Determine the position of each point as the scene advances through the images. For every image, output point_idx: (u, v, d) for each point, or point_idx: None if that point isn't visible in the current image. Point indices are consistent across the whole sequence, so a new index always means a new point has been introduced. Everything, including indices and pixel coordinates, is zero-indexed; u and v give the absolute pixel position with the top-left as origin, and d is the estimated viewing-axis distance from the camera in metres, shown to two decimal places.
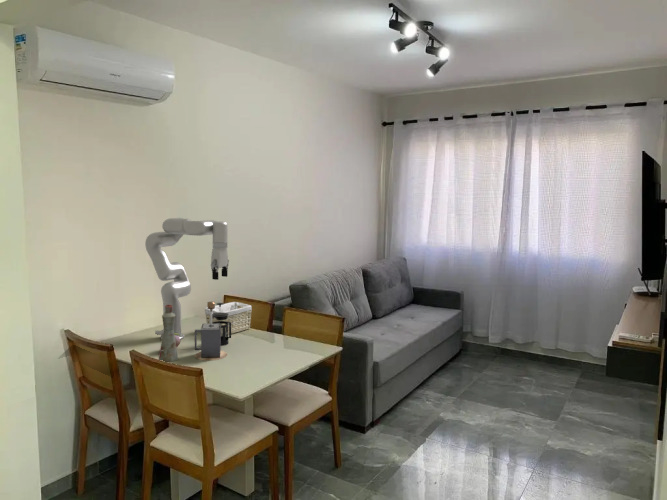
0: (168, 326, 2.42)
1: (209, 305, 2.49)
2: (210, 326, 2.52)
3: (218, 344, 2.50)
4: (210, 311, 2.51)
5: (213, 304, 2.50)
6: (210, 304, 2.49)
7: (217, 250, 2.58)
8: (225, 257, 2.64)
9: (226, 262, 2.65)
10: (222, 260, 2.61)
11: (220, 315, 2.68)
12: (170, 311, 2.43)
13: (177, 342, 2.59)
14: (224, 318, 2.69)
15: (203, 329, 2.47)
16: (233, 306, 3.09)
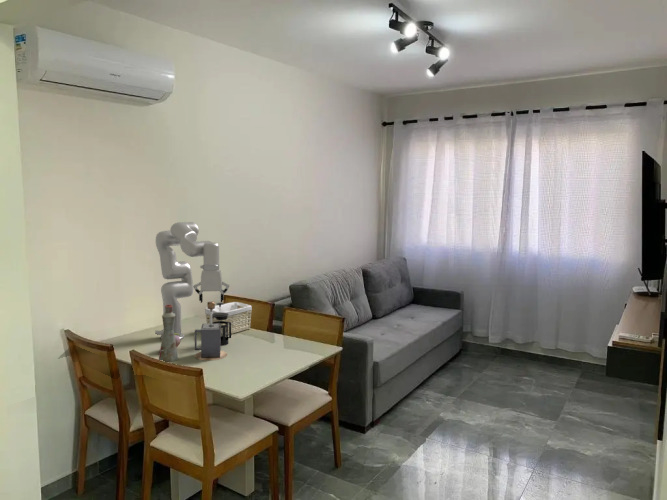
0: (168, 326, 2.42)
1: (209, 305, 2.49)
2: (210, 326, 2.52)
3: (218, 344, 2.50)
4: (210, 311, 2.51)
5: (213, 304, 2.50)
6: (210, 304, 2.49)
7: None
8: None
9: None
10: None
11: (220, 315, 2.68)
12: (170, 311, 2.43)
13: (177, 342, 2.59)
14: (224, 318, 2.69)
15: (203, 329, 2.47)
16: (233, 306, 3.09)
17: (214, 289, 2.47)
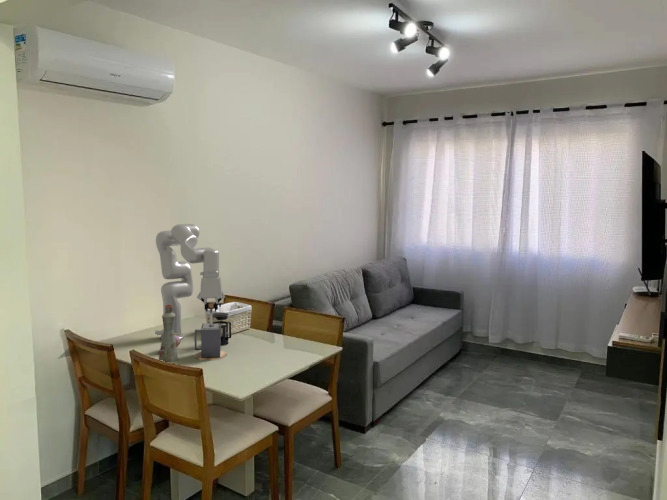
0: (168, 326, 2.42)
1: (209, 305, 2.49)
2: (210, 326, 2.52)
3: (218, 344, 2.50)
4: (210, 311, 2.51)
5: (213, 304, 2.50)
6: (210, 304, 2.49)
7: None
8: None
9: None
10: None
11: (220, 315, 2.68)
12: (170, 311, 2.43)
13: (177, 342, 2.59)
14: (224, 318, 2.69)
15: (203, 329, 2.47)
16: (233, 306, 3.09)
17: (214, 296, 2.48)
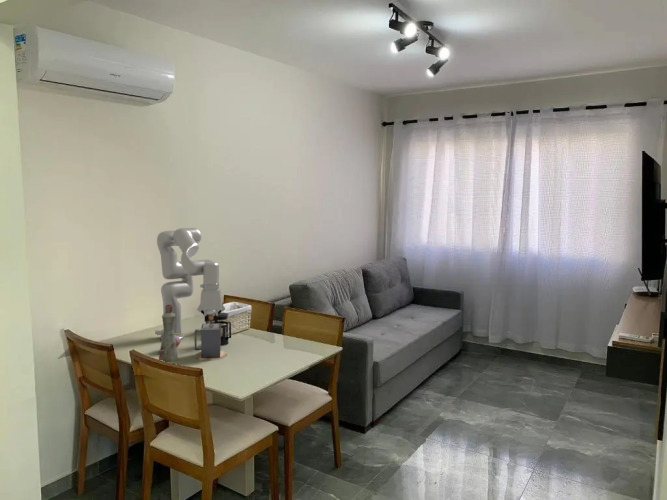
0: (168, 326, 2.42)
1: (209, 317, 2.50)
2: None
3: (218, 344, 2.50)
4: (210, 323, 2.52)
5: (213, 316, 2.51)
6: (210, 316, 2.50)
7: None
8: None
9: None
10: None
11: (220, 315, 2.68)
12: (170, 311, 2.43)
13: (177, 342, 2.59)
14: (224, 318, 2.69)
15: (203, 329, 2.47)
16: (232, 306, 3.09)
17: (214, 308, 2.49)
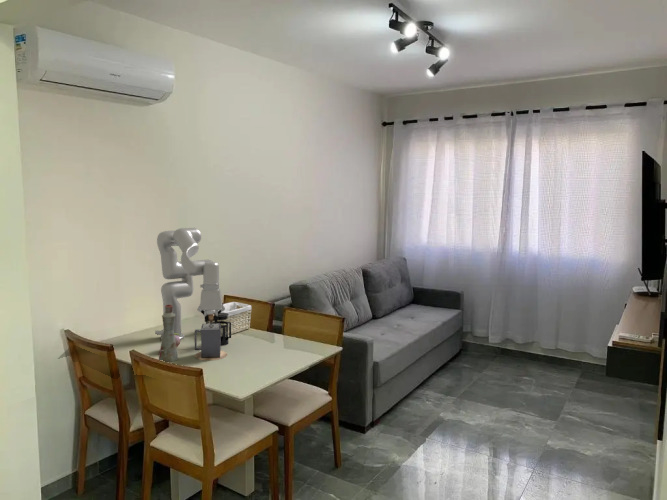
0: (168, 326, 2.42)
1: (209, 317, 2.50)
2: None
3: (218, 344, 2.50)
4: (210, 323, 2.52)
5: (213, 316, 2.51)
6: (210, 316, 2.50)
7: None
8: None
9: None
10: None
11: (220, 315, 2.68)
12: (170, 311, 2.43)
13: (177, 342, 2.59)
14: (224, 318, 2.69)
15: (203, 329, 2.47)
16: (232, 306, 3.09)
17: (214, 308, 2.49)
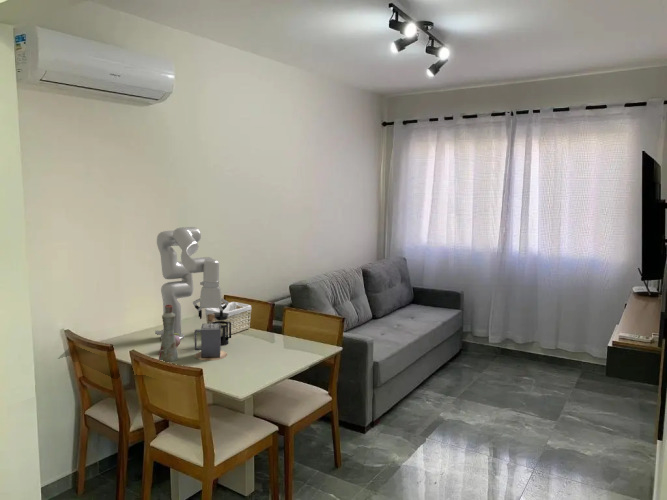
0: (168, 326, 2.42)
1: (209, 317, 2.50)
2: None
3: (218, 344, 2.50)
4: (210, 323, 2.52)
5: (213, 316, 2.51)
6: (210, 316, 2.50)
7: None
8: None
9: None
10: None
11: None
12: (170, 311, 2.43)
13: (177, 342, 2.59)
14: (224, 318, 2.69)
15: (203, 329, 2.47)
16: (232, 306, 3.09)
17: (213, 306, 2.49)
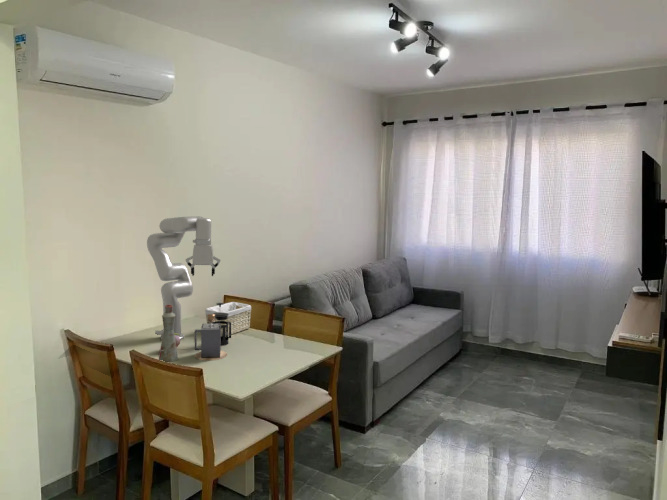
0: (168, 326, 2.42)
1: (209, 317, 2.50)
2: None
3: (218, 344, 2.50)
4: (210, 323, 2.52)
5: (213, 316, 2.51)
6: (210, 316, 2.50)
7: None
8: None
9: None
10: None
11: (220, 315, 2.68)
12: (170, 311, 2.43)
13: (177, 342, 2.59)
14: (224, 318, 2.69)
15: (203, 329, 2.47)
16: (231, 306, 3.09)
17: (205, 263, 2.56)
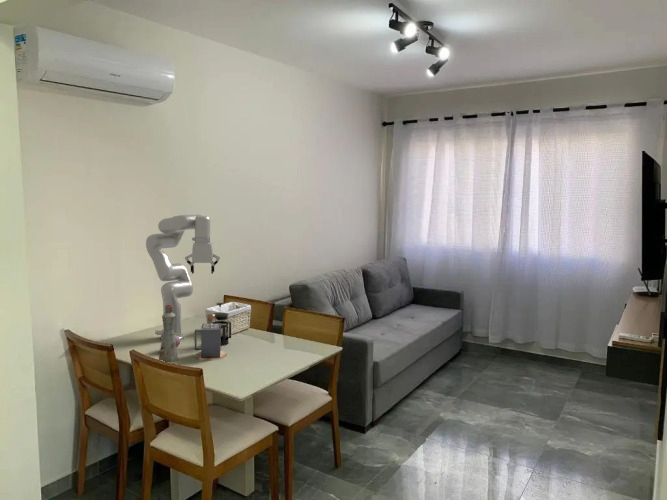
0: (168, 326, 2.42)
1: (209, 317, 2.50)
2: None
3: (218, 344, 2.50)
4: (210, 323, 2.52)
5: (213, 316, 2.51)
6: (210, 316, 2.50)
7: None
8: None
9: None
10: None
11: (220, 315, 2.68)
12: (170, 311, 2.43)
13: (177, 342, 2.59)
14: (224, 318, 2.69)
15: (203, 329, 2.47)
16: (231, 306, 3.09)
17: (205, 261, 2.57)
